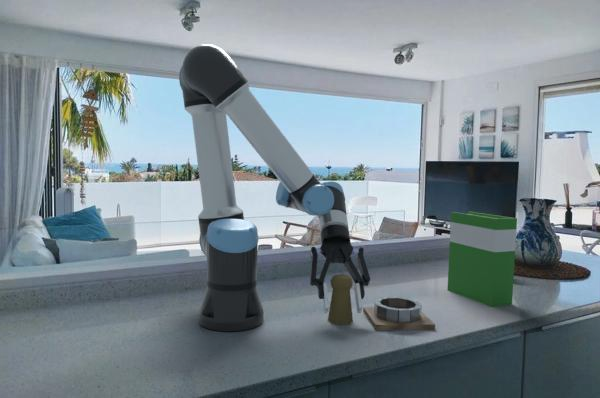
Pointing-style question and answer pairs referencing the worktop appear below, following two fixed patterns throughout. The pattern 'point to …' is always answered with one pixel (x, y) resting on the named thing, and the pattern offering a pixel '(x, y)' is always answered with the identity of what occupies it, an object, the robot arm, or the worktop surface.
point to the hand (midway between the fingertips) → (343, 310)
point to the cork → (340, 300)
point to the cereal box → (482, 257)
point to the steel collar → (397, 309)
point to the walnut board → (386, 325)
